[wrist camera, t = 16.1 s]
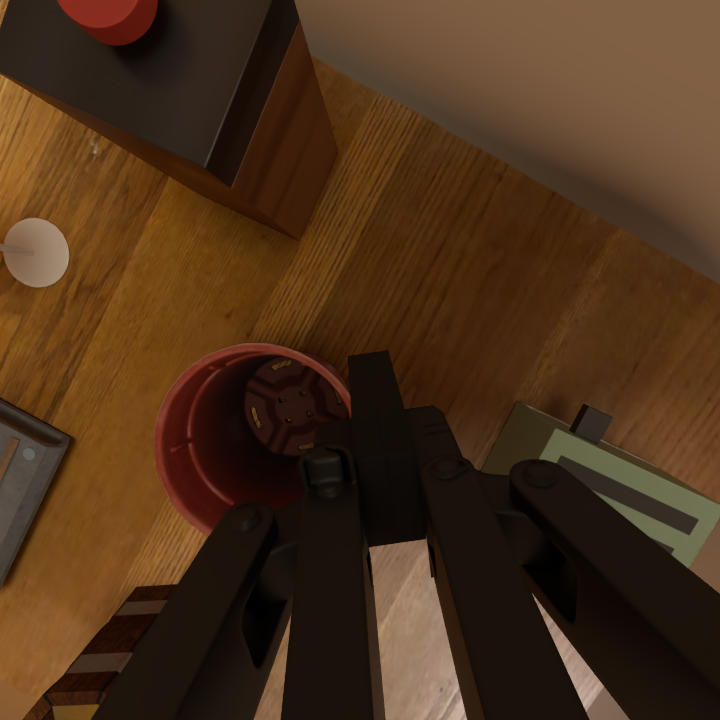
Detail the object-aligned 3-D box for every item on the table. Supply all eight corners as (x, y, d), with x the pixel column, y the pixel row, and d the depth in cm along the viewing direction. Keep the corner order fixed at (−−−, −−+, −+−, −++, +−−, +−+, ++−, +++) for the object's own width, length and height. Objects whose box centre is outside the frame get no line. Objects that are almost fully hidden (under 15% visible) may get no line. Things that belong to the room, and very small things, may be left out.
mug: (99, 665, 56) (-4, 795, 41) (124, 567, 54) (26, 666, 39) (252, 714, 56) (204, 863, 41) (282, 617, 54) (243, 736, 39)
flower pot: (397, 374, 50) (405, 407, 34) (330, 501, 52) (306, 588, 36) (263, 305, 50) (207, 304, 34) (201, 434, 52) (120, 492, 36)
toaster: (663, 440, 49) (744, 479, 38) (601, 548, 51) (660, 615, 40) (529, 377, 49) (572, 398, 38) (471, 488, 51) (496, 538, 40)
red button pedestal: (338, 150, 47) (285, -36, 21) (299, 241, 49) (205, 168, 23) (234, 101, 47) (54, -145, 21) (197, 193, 48) (-14, 66, 23)
